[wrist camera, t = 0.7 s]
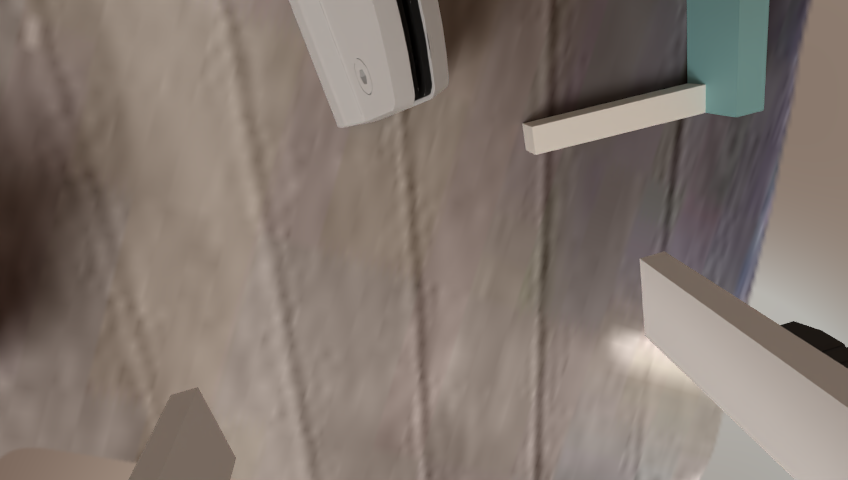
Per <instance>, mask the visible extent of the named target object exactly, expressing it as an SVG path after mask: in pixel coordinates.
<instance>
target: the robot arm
mask: <svg viewBox="0 0 848 480" xmlns="http://www.w3.org/2000/svg"><path fill="white" fill-rule="evenodd" d="M640 269H641V284H642V299H643V314H644V329H645V336H646V337H647V338H648V339H649V340H650V341H651V342H652V343H653V344H654V345H655V346H656V347H657V348H659V349H660V350H661V351H662V352H663V353H664V354H665V355H666V356H667V357H668V358H669V359H670V360H671V361H672V362H673V363H674V364H675V365H676V366H677V367H678V368H679V369H680V370H681V371H682V372H684V373H685V374H686V375H687V376H688V377H689V378H690V379H691V380H692V381H693V382H694V383H695V384H696V385H697V386H698V387H699V388H700V389H701V390H702V391H703V392H704V393H705V394H706V395H707V396H709V397H710V398H711V399H712V400H713V401H714V402H715V403H716V404H717V405H718V406H719V407H720V408H721V409H722V410H723V411H724V412H725V413H726V414H727V415H728V416H729V417H730V418H732V419H733V420H734V421H735V422H736V423H737V424H738V425H739V426H740V427H741V428H742V429H743V430H744V431H745V432H746V433H747V434H748V435H749V436H750V437H751V438H752V439H753V440H754V441H755V442H756V443H758V444H759V445H760V446H761V447H762V448H763V449H764V450H765V451H766V452H767V453H768V454H769V455H770V456H771V457H772V458H773V459H774V460H775V461H776V462H777V463H779V465H780V466H781V467H783V468H784V469H785V470H786V471H787V472H788V473H789V474H790V475H791V476H792V477H793V478H794V479H795V480H848V347H847V348H846V347H845V345H844V344H843V343H842V342H840V341H838V340H836V339H835V338H833V337H831V336H830V335H828V334H826V333H825V332H823V331H821V330H818V329H815V328H812V327H809V326H806V325H803V324H800V323H797V322H794V321H793V322H790V323H787V324H783V325H779V324H777V323H775V322H774V321H772V320H771V319H769V318H767V317H766V316H765V315H763V314H761V313H760V312H758V311H757V310H755V309H754V308H752V307H750V306H749V305H747V304H746V303H744V302H743V301H741V300H739V299H738V298H736V297H735V296H733V295H732V294H730V293H729V292H727V291H725V290H724V289H722V288H721V287H719V286H718V285H716V284H714V283H713V282H711V281H710V280H708V279H707V278H705V277H703V276H702V275H700V274H699V273H697V272H696V271H694V270H693V269H691V268H689V267H688V266H686V265H685V264H683V263H682V262H680V261H678V260H677V259H675V258H674V257H672V256H671V255H669V254H667V253H666V252H661V253H658V254H654V255H651V256H647V257H644V258H640ZM235 459H236V457H235V455H234V454H233V452H232V450H231V448H230V446H229V444H228V442H227V440H226V439H225V437H224V435H223V433H222V431H221V429H220V427H219V426H218V424H217V422H216V420H215V418H214V416H213V414H212V413H211V411H210V409H209V407H208V405H207V403H206V401H205V400H204V398H203V396H202V394H201V392H200V390H199V388H198V387H197V388H194V389H191V390H187V391H184V392H180V393H177V394H173V395H171V396H170V398H169V400H168V402H167V404H166V406H165V408H164V410H163V412H162V414H161V416H160V418H159V420H158V422H157V424H156V426H155V428H154V430H153V432H152V434H151V436H150V438H149V440H148V442H147V444H146V446H145V448H144V450H143V452H142V454H141V456H140V458H139V460H138V462H137V464H136V466H135V468H134V470H133V472H132V474H131V476H130V478H129V480H230V478H231V474H232V471H233V467H234V463H235Z"/></svg>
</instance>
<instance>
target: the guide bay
mask: <svg viewBox="0 0 848 480" xmlns="http://www.w3.org/2000/svg"><path fill="white" fill-rule="evenodd" d="M768 16H769V0H687V84H683V85H678V86H674V87H670V88H666V89H662V90H658V91H654V92H650V93H646V94H642V95H637V96H633V97H629V98H625V99H621V100H617V101H613V102H609V103H605V104H600V105H596V106H592V107H588V108H584V109H580V110H576V111H572V112H568V113H564V114H559V115H555V116H551V117H547V118H543V119H539V120H535V121H531V122H527V123H522V125H523V132H524V139H525V147H526V150H527V151H529V152H531V153H533V154H535V155H537V154H541V153H545V152H549V151H553V150H557V149H561V148H565V147H569V146H573V145H577V144H581V143H585V142H589V141H594V140H598V139H602V138H606V137H610V136H614V135H618V134H622V133H626V132H630V131H634V130H638V129H642V128H646V127H650V126H654V125H658V124H662V123H666V122H670V121H674V120H678V119H682V118H686V117H690V116H694V115H698V114H702V113H711V114H718V115H725V116H731V117H739V116H743V115H747V114H751V113H755V112H759V111H763V110H764V95H765V75H766V55H767V36H768Z"/></svg>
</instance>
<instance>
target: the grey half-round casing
mask: <svg viewBox="0 0 848 480" xmlns="http://www.w3.org/2000/svg"><path fill="white" fill-rule="evenodd" d="M289 2H290V4H291V7H292V10H293V12H294V15H295V17H296V20H297V22H298V25H299V28H300V30H301V33H302V35H303V38H304V41H305V43H306V46H307V48H308V51H309V53H310V56H311V59H312V61H313V64H314V66H315V69H316V71H317V74H318V77H319V79H320V82H321V84H322V87H323V89H324V92H325V95H326V97H327V100H328V102H329V105H330V107H331V110H332V113H333V115H334V118H335V120H336V123H337V125H338V127H350V126H355V125H360V124H365V123H371V122H376V121H379V120H381V119H384V118H386V117H388V116H391V115H393V114H396V113H398V112H401V111H403V110H406V109H408V108H411V107H413V106H415V105H418V104H420V103H423V102H425V101H428V100H430V99H432V98H433V97H435V96H436V95H437V94H439V93H440V92H442V91H443V90H444V89H446V88H447V86H448V83H449V74H448V63H447V54H446V46H445V39H444V31H443V26H442V20H441V15H440V9H439V4H438V0H289Z"/></svg>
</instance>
